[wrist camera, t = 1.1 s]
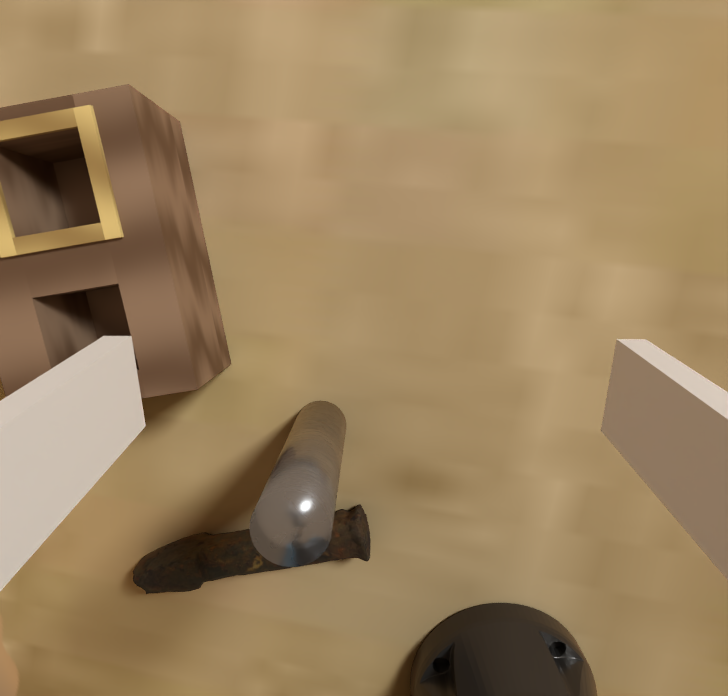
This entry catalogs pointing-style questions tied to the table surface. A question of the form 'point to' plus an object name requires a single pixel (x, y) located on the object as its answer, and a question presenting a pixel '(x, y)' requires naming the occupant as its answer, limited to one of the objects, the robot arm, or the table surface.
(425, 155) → the table surface
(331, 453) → the peg
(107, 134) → the hole block
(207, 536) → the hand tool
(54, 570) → the table surface
